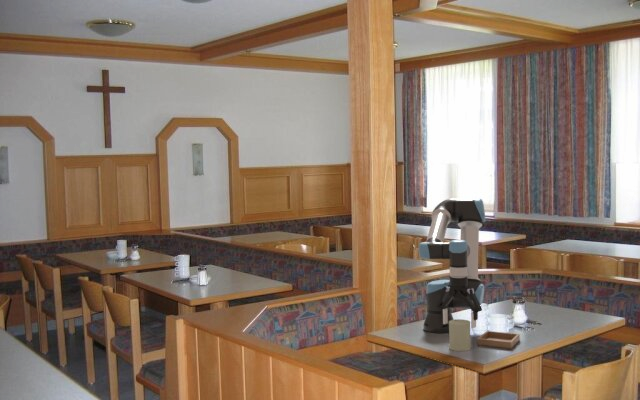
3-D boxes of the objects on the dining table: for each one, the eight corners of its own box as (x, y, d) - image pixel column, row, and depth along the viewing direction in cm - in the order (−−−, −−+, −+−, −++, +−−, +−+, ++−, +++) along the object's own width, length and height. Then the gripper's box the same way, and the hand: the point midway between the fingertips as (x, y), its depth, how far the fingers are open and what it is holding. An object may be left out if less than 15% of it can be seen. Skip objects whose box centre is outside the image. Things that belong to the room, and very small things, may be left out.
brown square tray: (477, 345, 304) (477, 338, 304) (487, 337, 316) (487, 330, 316) (511, 349, 297) (511, 342, 296) (519, 340, 309) (519, 334, 309)
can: (461, 344, 307) (460, 317, 306) (475, 348, 299) (474, 321, 298) (444, 347, 303) (444, 320, 302) (458, 352, 295) (457, 324, 294)
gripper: (489, 277, 294) (490, 327, 295) (437, 273, 310) (438, 320, 311) (481, 280, 288) (482, 331, 289) (428, 275, 304) (429, 323, 305)
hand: (459, 325), depth 300 cm, fingers open, 13 cm apart
